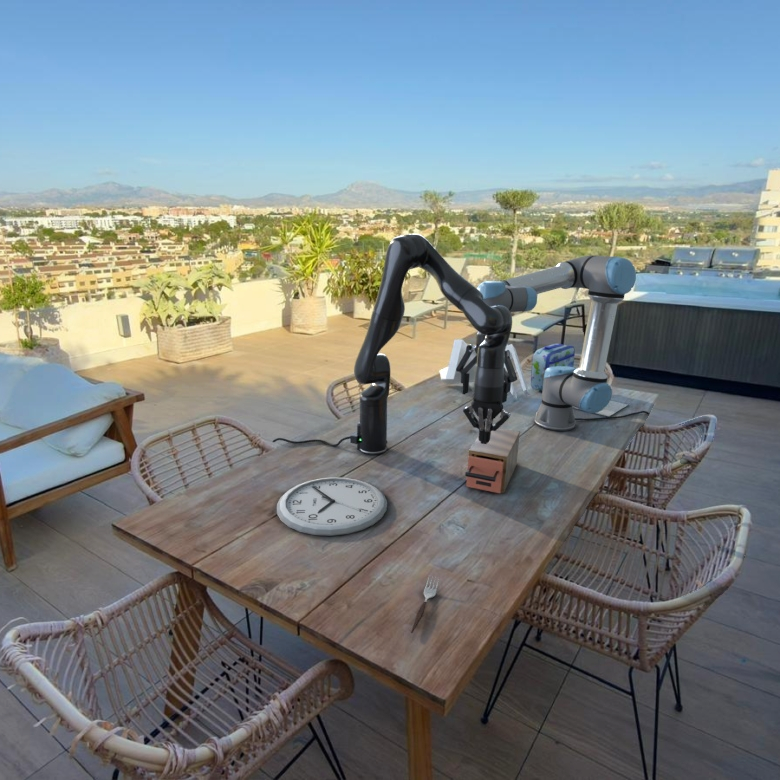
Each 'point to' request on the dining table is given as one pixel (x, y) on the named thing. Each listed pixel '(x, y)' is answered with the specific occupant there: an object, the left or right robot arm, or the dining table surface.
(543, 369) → the lunch box
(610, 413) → the invitation card
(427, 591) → the fork
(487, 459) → the drawer
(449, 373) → the white plastic object
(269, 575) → the dining table surface
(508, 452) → the cabinet
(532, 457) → the dining table surface
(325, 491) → the wall clock
